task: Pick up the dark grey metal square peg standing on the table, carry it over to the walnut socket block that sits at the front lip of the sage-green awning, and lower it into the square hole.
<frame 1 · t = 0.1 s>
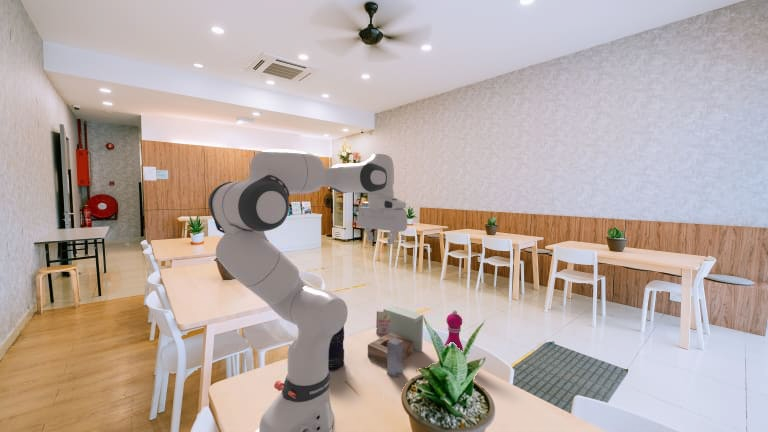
hand: (380, 242, 108), 48 cm above the table, tool pointing down, fingers open, 8 cm apart
socket: (390, 355, 125), on the table
tea bag: (383, 332, 145), on the table
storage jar: (331, 364, 118), on the table
peg: (394, 373, 112), on the table
pepper mill: (453, 360, 122), on the table
awning: (402, 347, 131), on the table
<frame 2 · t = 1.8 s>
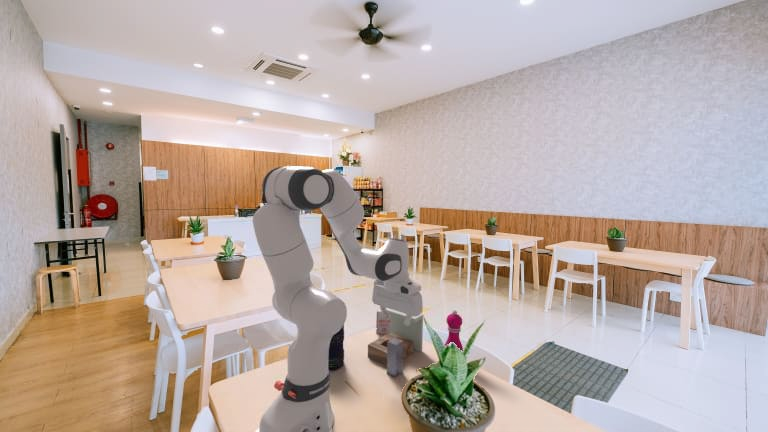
hand: (396, 321, 111), 19 cm above the table, tool pointing down, fingers open, 8 cm apart
nothing on the table moved.
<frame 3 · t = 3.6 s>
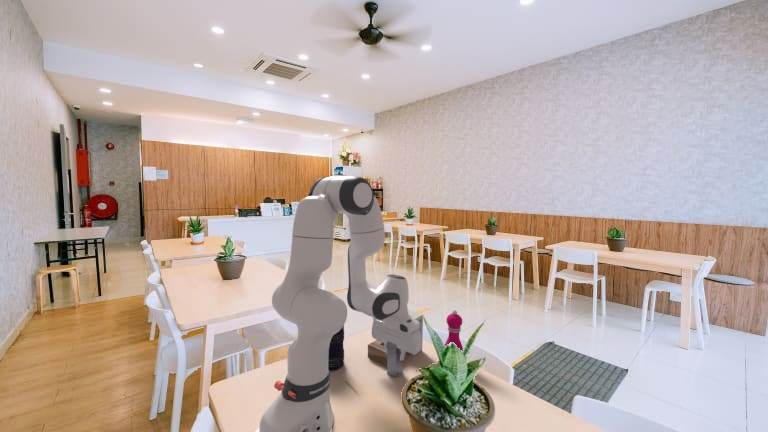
hand: (395, 356, 112), 6 cm above the table, tool pointing down, fingers closed on peg, 4 cm apart
peg: (394, 373, 112), on the table, touching gripper
everything else where it was.
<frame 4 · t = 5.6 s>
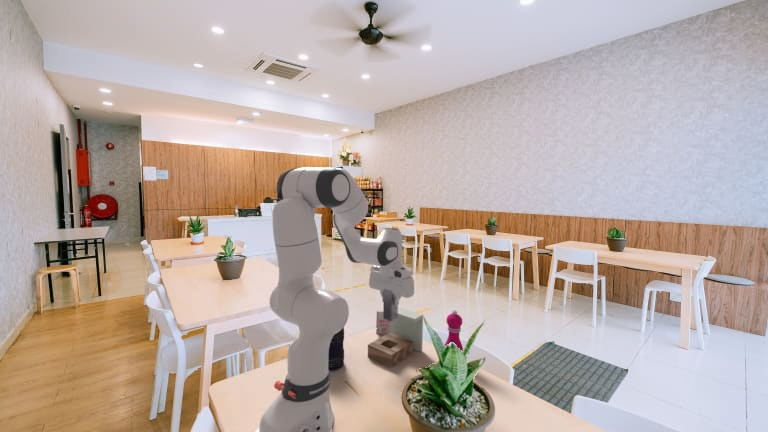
hand: (390, 303, 123), 22 cm above the table, tool pointing down, fingers closed on peg, 4 cm apart
peg: (390, 318, 123), point 15 cm above the table, touching gripper
everything else where it was.
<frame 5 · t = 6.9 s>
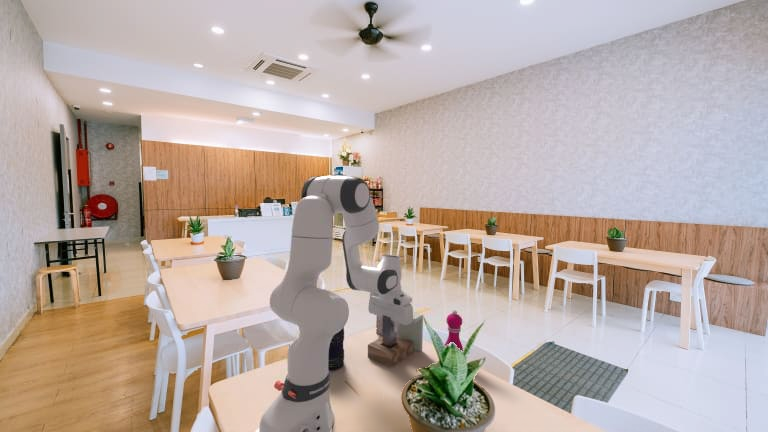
hand: (389, 329, 124), 11 cm above the table, tool pointing down, fingers closed on peg, 4 cm apart
peg: (389, 343, 124), point 5 cm above the table, touching gripper
everything else where it was.
when the fingers open (8 cm above the table, at t = 7.9 s): peg drops 1 cm, resting in socket.
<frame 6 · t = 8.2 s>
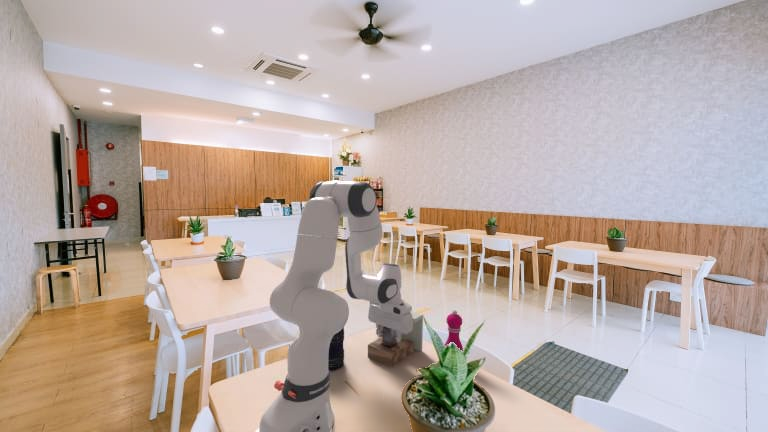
hand: (389, 337, 124), 8 cm above the table, tool pointing down, fingers open, 7 cm apart
peg: (389, 356, 124), resting in socket
everything else where it was.
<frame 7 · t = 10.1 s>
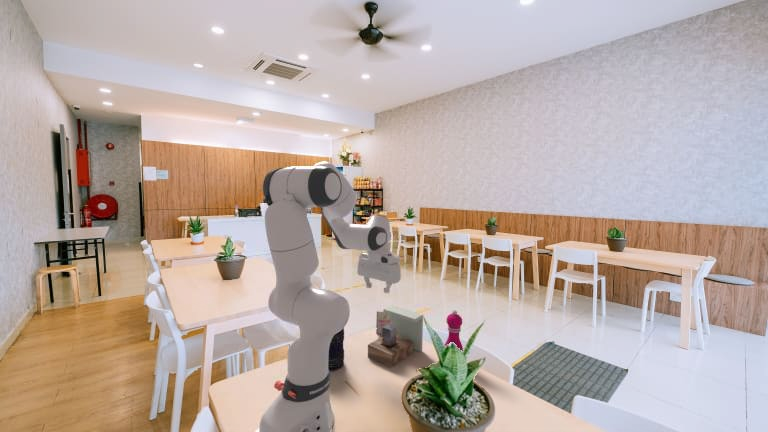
hand: (377, 290, 124), 26 cm above the table, tool pointing down, fingers open, 8 cm apart
nothing on the table moved.
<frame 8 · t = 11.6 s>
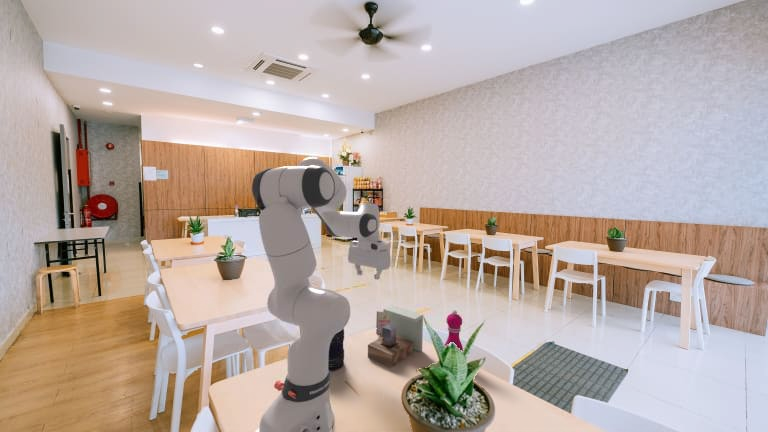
hand: (368, 276, 125), 31 cm above the table, tool pointing down, fingers open, 8 cm apart
nothing on the table moved.
at the end: peg 0.0 cm from the target spot on the socket, point 0.0 cm above the socket's base; peg tilted 0°; the gripper is holding nothing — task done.
